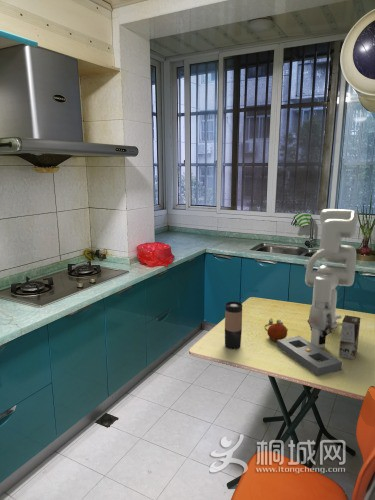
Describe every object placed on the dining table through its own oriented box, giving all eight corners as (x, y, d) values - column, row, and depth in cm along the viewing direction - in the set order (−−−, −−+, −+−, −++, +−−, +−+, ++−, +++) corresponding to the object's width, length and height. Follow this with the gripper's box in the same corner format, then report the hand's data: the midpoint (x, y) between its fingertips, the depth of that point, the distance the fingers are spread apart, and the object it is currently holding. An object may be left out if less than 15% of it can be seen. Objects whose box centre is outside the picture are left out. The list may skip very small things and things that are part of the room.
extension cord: (292, 325, 189) (293, 322, 188) (282, 336, 176) (282, 332, 176) (270, 320, 196) (270, 316, 195) (259, 330, 183) (259, 327, 182)
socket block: (298, 342, 169) (298, 334, 168) (341, 369, 146) (342, 361, 145) (277, 347, 164) (277, 339, 164) (318, 376, 141) (318, 367, 140)
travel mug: (242, 343, 168) (244, 302, 164) (239, 350, 161) (240, 308, 157) (226, 340, 170) (227, 300, 166) (222, 348, 163) (223, 306, 159)
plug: (318, 342, 169) (320, 318, 167) (326, 347, 164) (329, 323, 162) (308, 344, 167) (310, 320, 165) (317, 349, 162) (319, 325, 160)
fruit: (289, 339, 173) (291, 323, 171) (280, 345, 166) (281, 328, 165) (273, 333, 179) (274, 318, 177) (263, 339, 173) (264, 323, 171)
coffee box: (354, 360, 153) (358, 324, 150) (338, 356, 157) (341, 321, 153) (357, 351, 161) (361, 317, 157) (342, 347, 164) (345, 314, 161)
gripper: (342, 308, 155) (338, 348, 159) (314, 296, 171) (311, 332, 174) (328, 311, 153) (325, 351, 156) (301, 298, 168) (299, 335, 172)
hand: (318, 341), depth 165 cm, fingers closed on plug, 4 cm apart
